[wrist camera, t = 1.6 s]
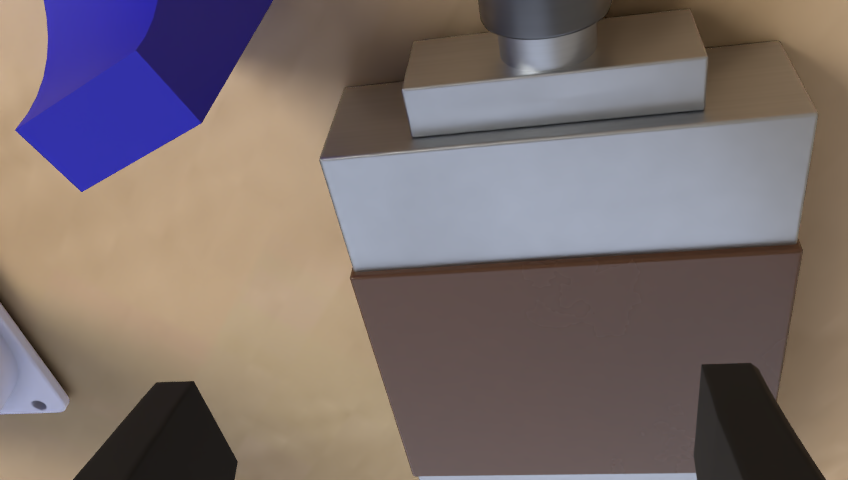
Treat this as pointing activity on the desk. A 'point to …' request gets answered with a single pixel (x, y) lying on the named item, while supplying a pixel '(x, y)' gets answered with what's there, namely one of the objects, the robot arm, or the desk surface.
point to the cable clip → (131, 77)
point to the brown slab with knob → (570, 235)
